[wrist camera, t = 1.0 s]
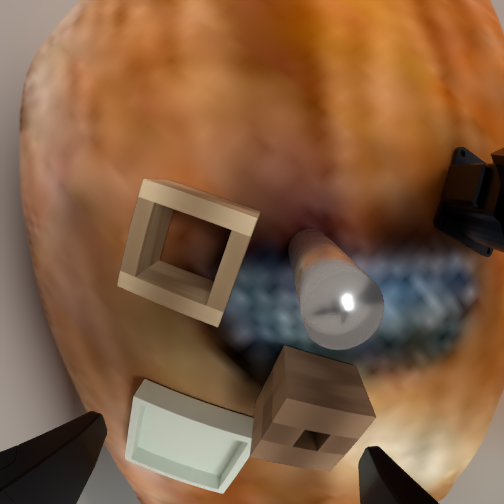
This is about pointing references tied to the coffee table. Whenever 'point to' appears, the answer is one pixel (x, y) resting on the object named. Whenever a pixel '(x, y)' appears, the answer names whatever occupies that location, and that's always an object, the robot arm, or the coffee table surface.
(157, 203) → the beige square frame
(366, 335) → the cylinder
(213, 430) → the tray
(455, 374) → the coffee table surface
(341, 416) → the walnut block
